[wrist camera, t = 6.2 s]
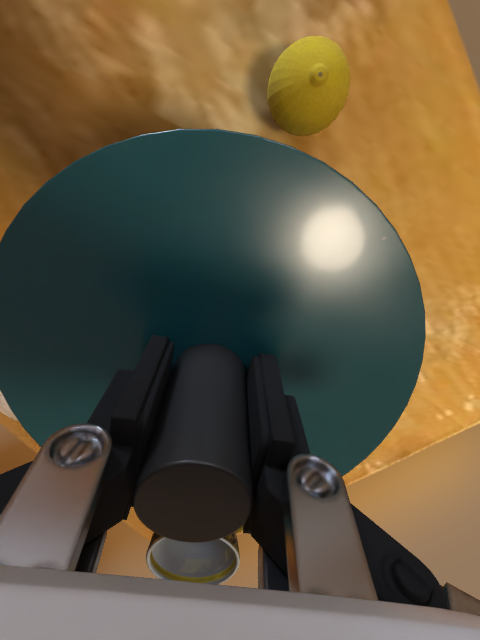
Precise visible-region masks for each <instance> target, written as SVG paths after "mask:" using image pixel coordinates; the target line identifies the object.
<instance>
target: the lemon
mask: <svg viewBox="0 0 480 640" xmlns="http://www.w3.org/2000/svg"><path fill="white" fill-rule="evenodd" d="M349 86H350V68H349V65H348V61H347V58H346V56H345V54H344V53H343V51H342V49H341V48H340V47H339V46H338V45H337V44H336V43H335V42H334V41H332V40H330V39H328V38H326V37H320V36H311V37H305V38H302V39H300V40H298V41H296V42H294V43H293V44H291V45H290V46H289V47H288V48H287V49H286V50H285V51H284V52H283V53H282V54H281V55H280V57H279V58H278V60H277V61H276V63H275V64H274V67H273V69H272V72H271V74H270V77H269V82H268V88H267V96H268V105H269V109H270V113H271V115H272V116H273V118H274V120H275V122H276V123H277V124H278V125H279V126H280V127H281V128H282V129H283V130H285V131H286V132H288V133H289V134H293V135H297V136H309V135H312V134H315V133H318V132H320V131H321V130H323V129H325V128H326V127H328V126H329V125H330V124H331V123H332V122H333V121H334V120H335V119H336V117H337V116H338V114H339V113H340V111H341V110H342V108H343V106H344V104H345V101H346V98H347V96H348V92H349Z"/></svg>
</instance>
